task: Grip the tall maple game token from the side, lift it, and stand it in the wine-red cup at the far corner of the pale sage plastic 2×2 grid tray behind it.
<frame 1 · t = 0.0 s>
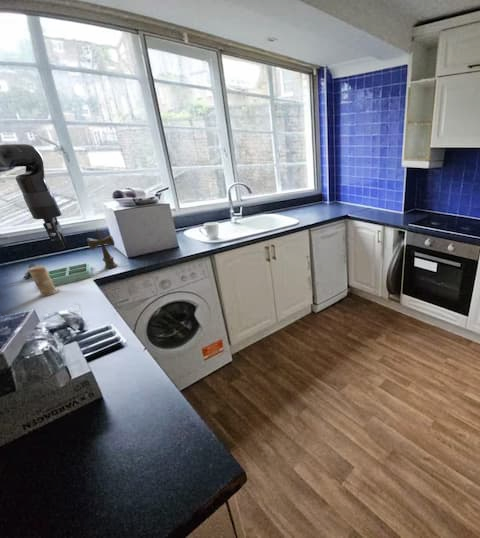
hand: (62, 246, 112), 22 cm above the table, tool pointing down, fingers open, 8 cm apart
grid: (70, 277, 141), on the table
kendama: (111, 267, 151), on the table
eagle figurine: (35, 278, 142), on the table
token: (49, 293, 126), on the table
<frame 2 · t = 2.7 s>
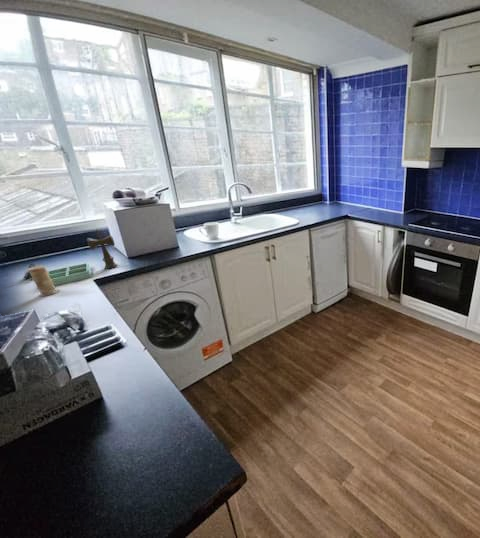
nothing on the table moved.
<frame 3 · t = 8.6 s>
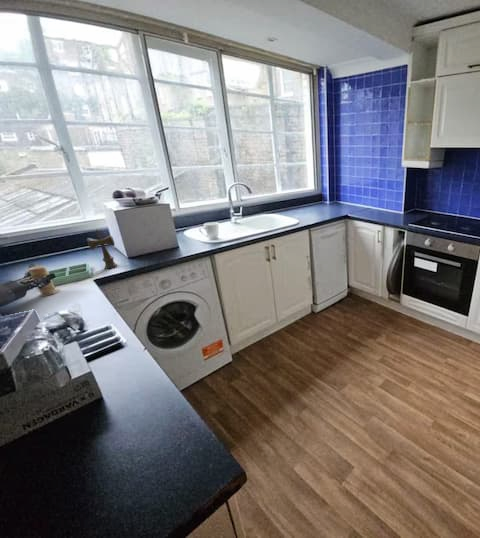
hand: (47, 275, 125), 7 cm above the table, tool horizontal, fingers closed on token, 4 cm apart
token: (49, 293, 126), on the table, touching gripper
everything else where it was.
when the fingers open (8 cm above the table, at t = 16.1 s): token stays where it is, resting on grid.
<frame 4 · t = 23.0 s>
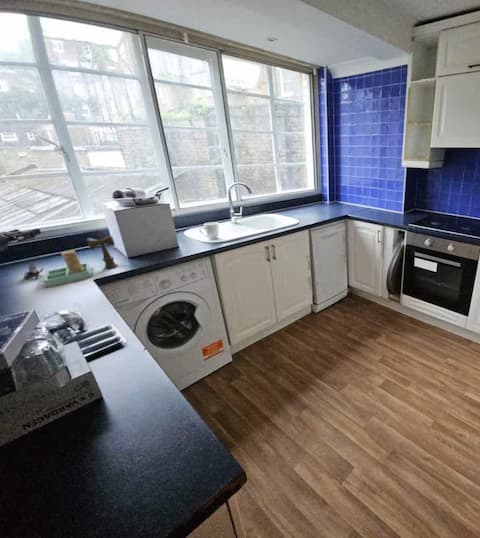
hand: (29, 231, 120), 26 cm above the table, tool horizontal, fingers open, 8 cm apart
token: (79, 275, 140), point 1 cm above the table, touching grid
everything else where it was.
at the end: token 0.2 cm from the target spot in the grid, point 0.8 cm above the grid's base; token tilted 0°; the gripper is holding nothing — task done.
